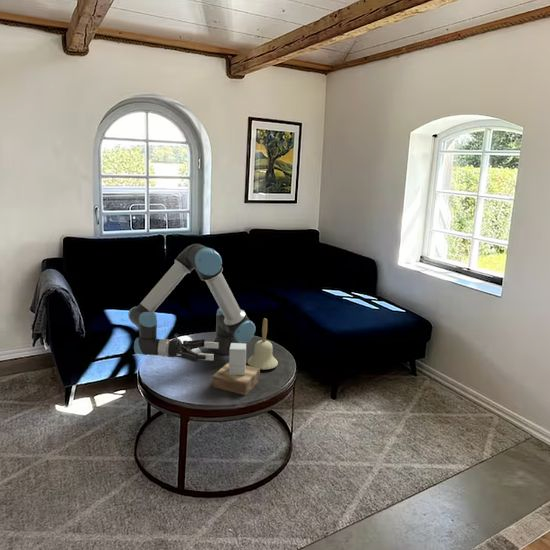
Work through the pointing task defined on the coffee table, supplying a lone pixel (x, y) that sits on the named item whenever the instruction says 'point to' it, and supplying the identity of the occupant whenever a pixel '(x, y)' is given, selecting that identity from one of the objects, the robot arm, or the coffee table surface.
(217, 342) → the robot arm
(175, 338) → the pocket watch
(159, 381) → the coffee table surface
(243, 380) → the walnut stand
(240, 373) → the supplement box
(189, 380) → the coffee table surface
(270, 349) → the handbell
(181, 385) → the coffee table surface
